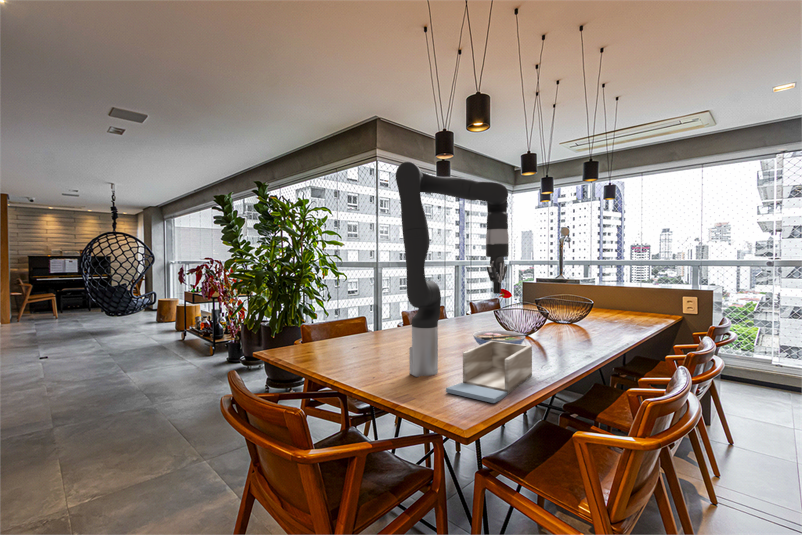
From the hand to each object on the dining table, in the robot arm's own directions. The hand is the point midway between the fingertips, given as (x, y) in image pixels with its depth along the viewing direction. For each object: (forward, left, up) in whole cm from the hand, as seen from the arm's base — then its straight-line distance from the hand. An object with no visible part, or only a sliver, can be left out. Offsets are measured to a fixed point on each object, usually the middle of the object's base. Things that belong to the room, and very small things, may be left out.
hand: (497, 293), depth 130 cm
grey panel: (+2, -17, -28) cm, 33 cm away
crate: (+2, -5, -29) cm, 30 cm away
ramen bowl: (-14, +36, -29) cm, 48 cm away
